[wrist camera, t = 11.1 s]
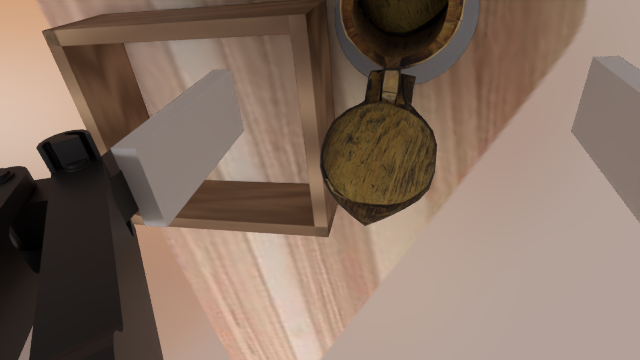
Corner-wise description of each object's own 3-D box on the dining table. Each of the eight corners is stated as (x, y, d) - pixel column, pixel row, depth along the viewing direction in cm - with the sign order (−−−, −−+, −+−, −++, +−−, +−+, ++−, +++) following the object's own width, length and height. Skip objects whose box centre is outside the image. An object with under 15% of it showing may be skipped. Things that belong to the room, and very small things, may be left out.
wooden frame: (101, 14, 36) (41, 30, 30) (325, -2, 31) (305, 14, 25) (165, 187, 46) (129, 223, 40) (340, 194, 41) (328, 237, 36)
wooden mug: (335, 92, 34) (277, 214, 20) (348, -93, 27) (269, -120, 12) (437, 104, 33) (456, 245, 18) (480, -87, 25) (573, -109, 11)
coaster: (331, -58, 29) (329, -58, 28) (487, -75, 26) (489, -74, 26) (340, 84, 35) (339, 87, 34) (469, 81, 32) (470, 84, 32)
